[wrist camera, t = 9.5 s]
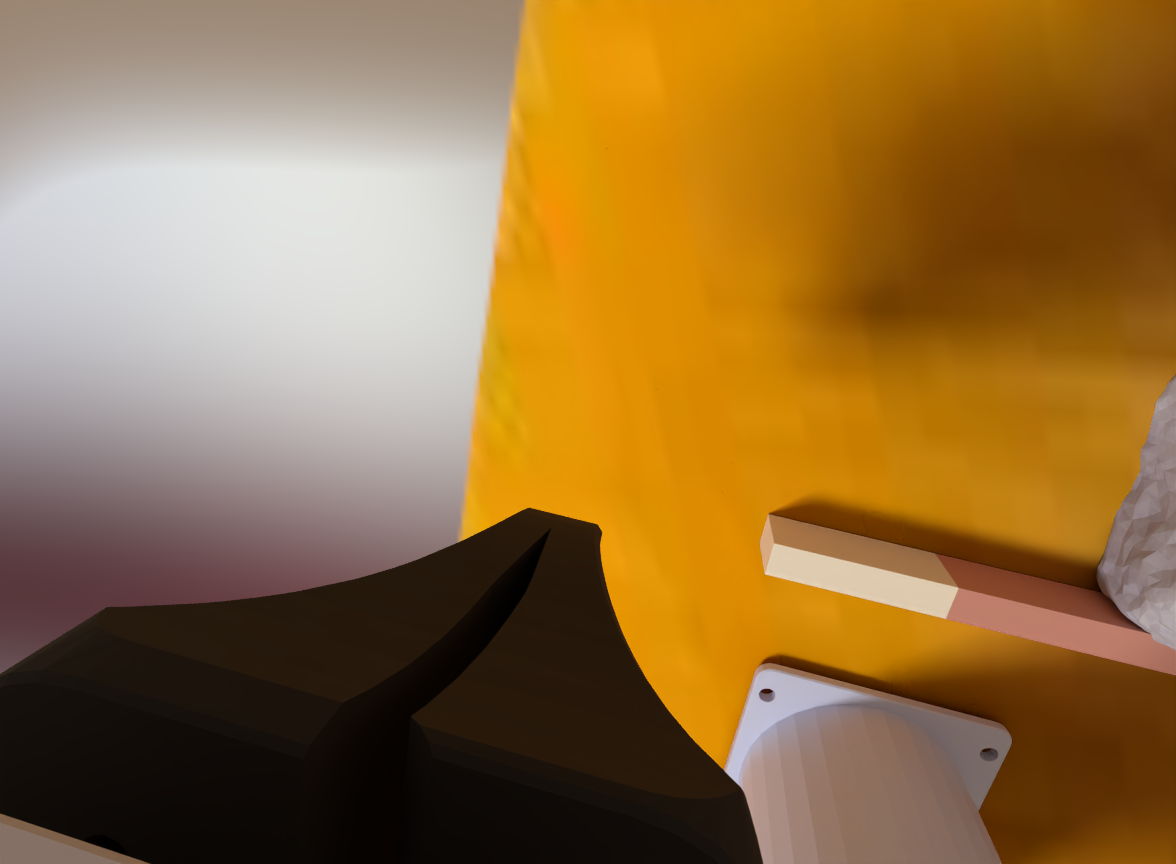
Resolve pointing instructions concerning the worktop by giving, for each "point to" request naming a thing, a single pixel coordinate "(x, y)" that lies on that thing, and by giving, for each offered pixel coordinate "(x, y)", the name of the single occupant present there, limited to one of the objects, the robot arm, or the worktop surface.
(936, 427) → the worktop surface
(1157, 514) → the stone block
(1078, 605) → the trap lane
